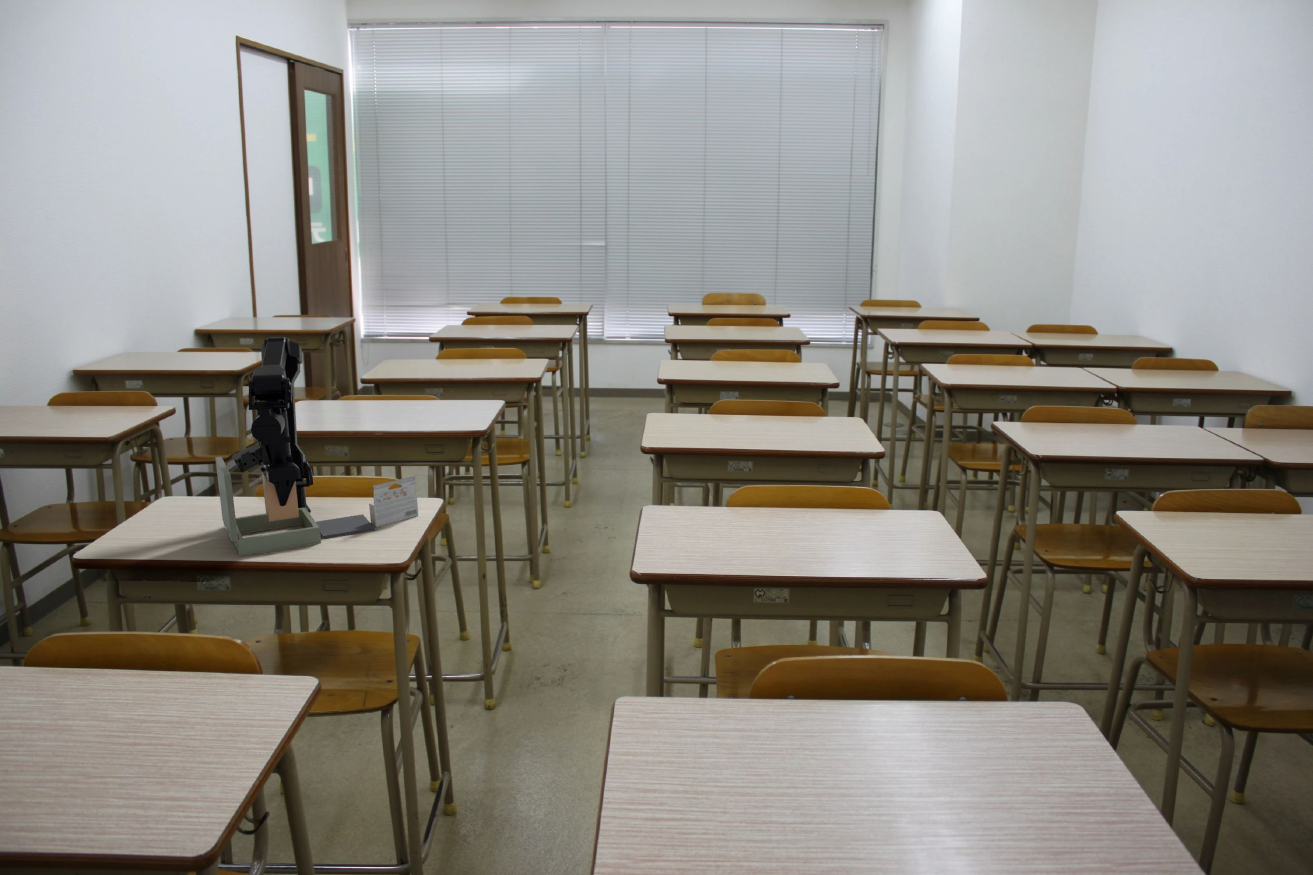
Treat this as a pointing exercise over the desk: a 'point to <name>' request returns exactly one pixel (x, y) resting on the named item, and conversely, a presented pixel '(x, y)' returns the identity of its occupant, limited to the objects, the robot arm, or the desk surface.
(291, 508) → the box
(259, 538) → the case
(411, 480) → the ink cartridge box
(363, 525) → the rubber mat
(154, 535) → the desk surface
